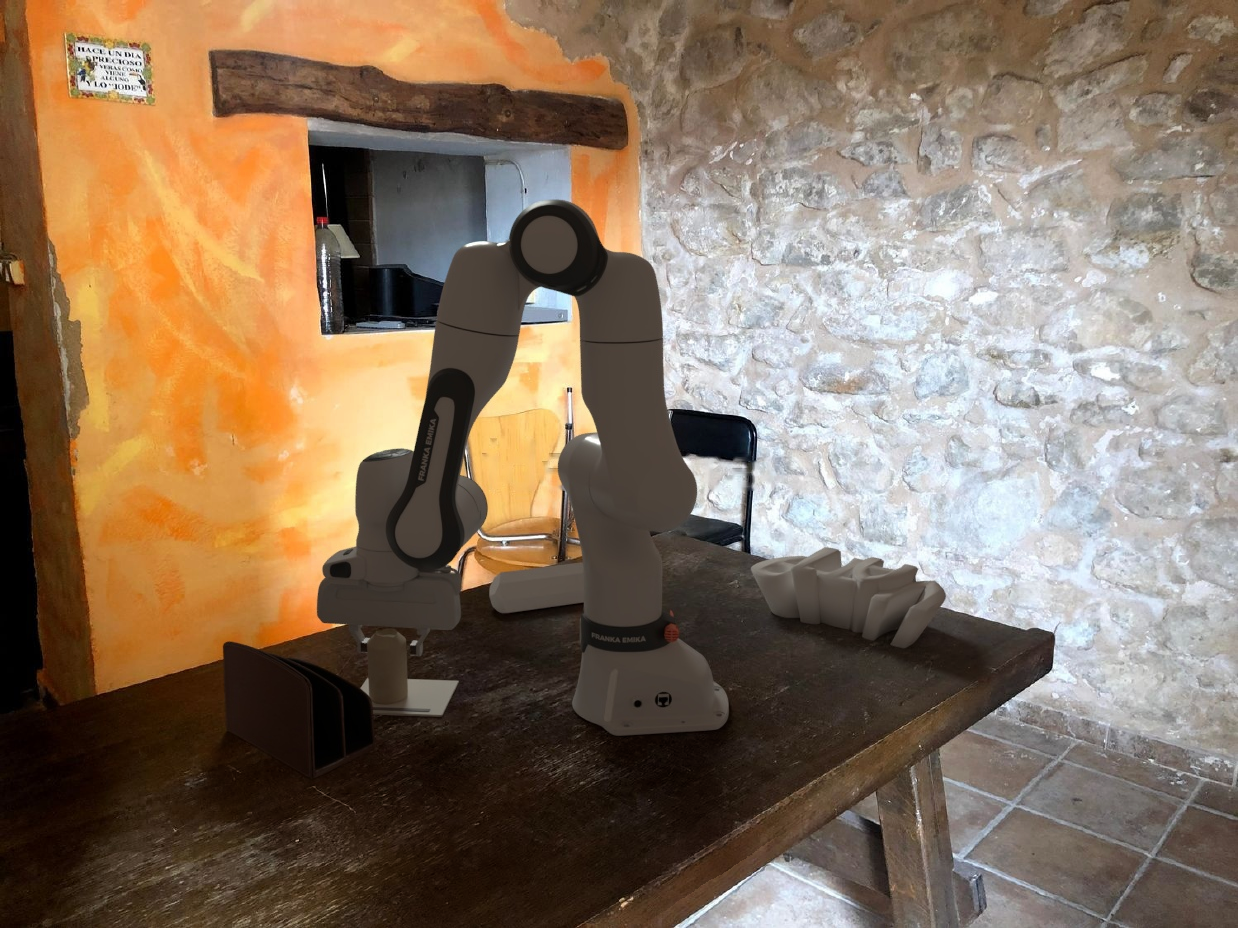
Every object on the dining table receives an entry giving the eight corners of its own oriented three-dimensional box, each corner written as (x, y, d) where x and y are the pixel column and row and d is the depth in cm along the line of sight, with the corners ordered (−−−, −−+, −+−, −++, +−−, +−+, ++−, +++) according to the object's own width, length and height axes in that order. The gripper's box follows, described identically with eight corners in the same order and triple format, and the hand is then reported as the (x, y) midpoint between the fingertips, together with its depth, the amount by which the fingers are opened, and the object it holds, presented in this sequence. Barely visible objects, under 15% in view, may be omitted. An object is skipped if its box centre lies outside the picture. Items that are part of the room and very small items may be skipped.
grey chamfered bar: (601, 565, 191) (481, 581, 182) (613, 557, 185) (489, 572, 176) (608, 603, 190) (487, 620, 181) (621, 596, 183) (496, 613, 174)
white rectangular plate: (458, 682, 149) (458, 680, 149) (442, 716, 138) (441, 714, 138) (367, 679, 150) (367, 677, 150) (344, 713, 139) (343, 710, 139)
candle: (397, 706, 140) (394, 641, 138) (362, 701, 142) (359, 636, 139) (414, 690, 146) (412, 626, 143) (380, 685, 147) (378, 622, 145)
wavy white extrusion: (962, 634, 169) (968, 576, 167) (921, 664, 157) (927, 602, 155) (786, 587, 192) (789, 535, 189) (739, 610, 179) (741, 555, 177)
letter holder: (311, 781, 122) (304, 676, 119) (225, 732, 134) (216, 635, 131) (377, 750, 129) (372, 650, 126) (289, 706, 141) (283, 613, 138)
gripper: (466, 558, 142) (465, 648, 145) (326, 551, 143) (329, 640, 146) (456, 572, 136) (456, 666, 139) (310, 565, 137) (314, 658, 140)
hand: (390, 653), depth 142 cm, fingers open, 6 cm apart
